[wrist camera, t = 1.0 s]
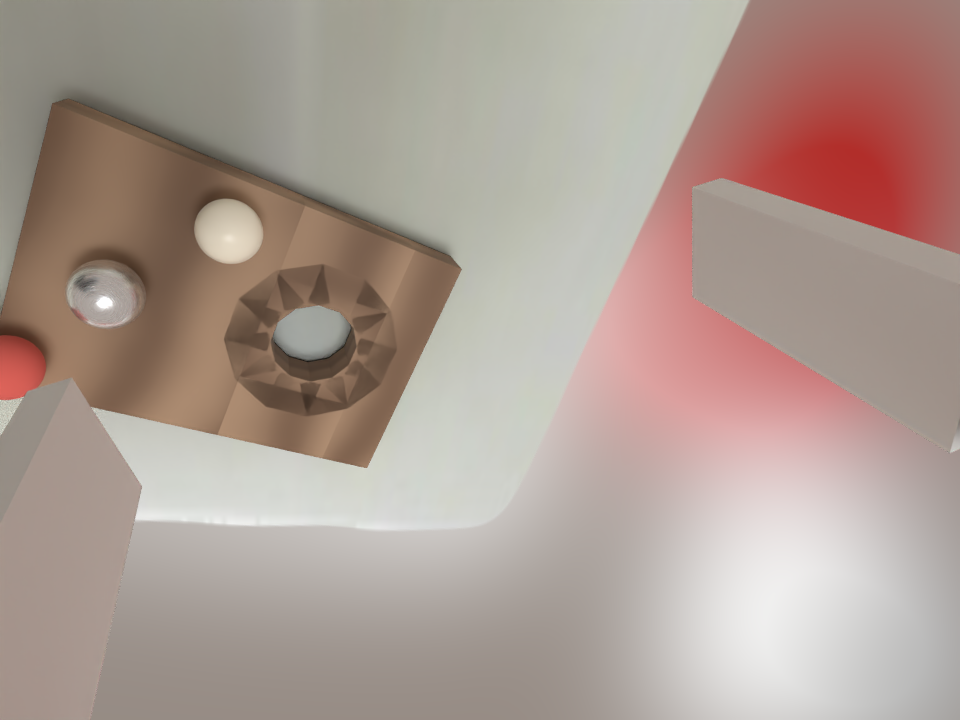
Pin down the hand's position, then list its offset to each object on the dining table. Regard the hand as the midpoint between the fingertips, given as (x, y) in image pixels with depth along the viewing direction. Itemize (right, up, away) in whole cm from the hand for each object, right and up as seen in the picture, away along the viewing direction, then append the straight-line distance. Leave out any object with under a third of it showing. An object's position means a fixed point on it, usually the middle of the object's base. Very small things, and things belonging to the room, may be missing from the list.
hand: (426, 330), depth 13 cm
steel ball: (-16, +2, +15) cm, 22 cm away
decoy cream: (-11, +5, +16) cm, 20 cm away
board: (-12, +3, +22) cm, 25 cm away
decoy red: (-21, -1, +16) cm, 26 cm away
